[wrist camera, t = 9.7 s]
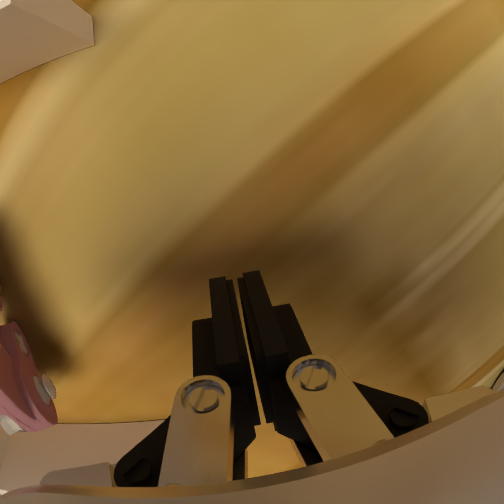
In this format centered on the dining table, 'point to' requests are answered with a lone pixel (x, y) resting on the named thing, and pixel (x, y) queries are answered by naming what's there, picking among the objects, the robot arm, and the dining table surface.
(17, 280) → the dining table surface
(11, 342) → the video game controller
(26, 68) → the bin
